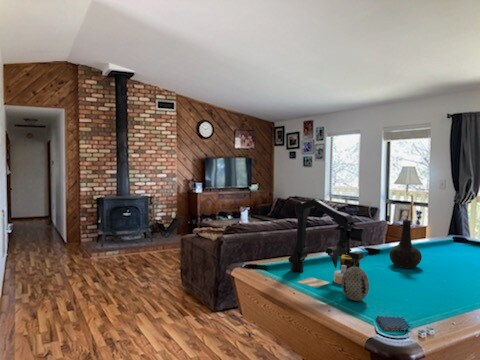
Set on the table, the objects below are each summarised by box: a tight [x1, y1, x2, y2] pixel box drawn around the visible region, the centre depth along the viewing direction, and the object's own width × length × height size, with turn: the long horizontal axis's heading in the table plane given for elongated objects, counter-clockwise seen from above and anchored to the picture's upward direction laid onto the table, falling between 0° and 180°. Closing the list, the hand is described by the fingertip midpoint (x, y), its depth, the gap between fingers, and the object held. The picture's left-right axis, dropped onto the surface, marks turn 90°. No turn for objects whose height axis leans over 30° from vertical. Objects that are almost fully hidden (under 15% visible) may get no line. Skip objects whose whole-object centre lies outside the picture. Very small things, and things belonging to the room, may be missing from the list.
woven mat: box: [375, 315, 412, 331], centre depth 142 cm, size 10×11×2 cm
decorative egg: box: [341, 266, 370, 302], centre depth 168 cm, size 12×12×15 cm
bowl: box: [333, 273, 342, 285], centre depth 192 cm, size 9×9×4 cm
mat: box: [297, 277, 331, 289], centre depth 191 cm, size 12×12×1 cm
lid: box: [333, 265, 347, 277], centre depth 192 cm, size 9×9×4 cm
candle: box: [339, 255, 361, 270], centre depth 208 cm, size 10×10×10 cm
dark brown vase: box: [389, 219, 423, 269], centre depth 227 cm, size 18×18×28 cm
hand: (343, 269), depth 192 cm, fingers open, 9 cm apart
